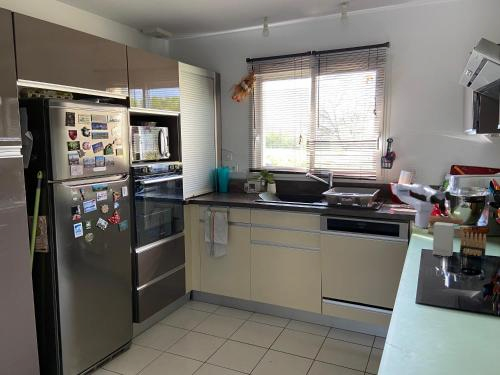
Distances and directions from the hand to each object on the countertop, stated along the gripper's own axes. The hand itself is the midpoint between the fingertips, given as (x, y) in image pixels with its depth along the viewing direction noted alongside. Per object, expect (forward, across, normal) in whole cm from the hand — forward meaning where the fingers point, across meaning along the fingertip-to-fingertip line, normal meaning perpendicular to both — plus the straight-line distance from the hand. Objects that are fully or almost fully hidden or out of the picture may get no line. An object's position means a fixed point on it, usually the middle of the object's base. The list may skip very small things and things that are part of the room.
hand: (447, 201), depth 228 cm
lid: (-2, 0, +14) cm, 14 cm away
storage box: (0, -2, +20) cm, 20 cm away
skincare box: (+38, -32, +7) cm, 50 cm away
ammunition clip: (+43, -19, +9) cm, 48 cm away
